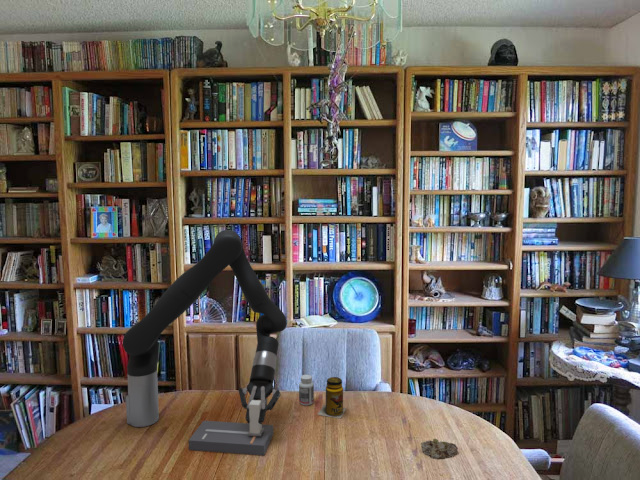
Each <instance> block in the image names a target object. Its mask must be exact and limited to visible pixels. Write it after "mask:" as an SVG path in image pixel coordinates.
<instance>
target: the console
mask: <svg viewBox="0 0 640 480" xmlns="http://www.w3.org/2000/svg"><path fill="white" fill-rule="evenodd" d="M262 428H264V430H263V432H262V434H261V436H248V432H249V430H250V425H249V423H247V422H245V423H244V422H232V421H231V422H229V421H218V420H217V421H215V420H203V421H202V422H201V424H200V425H199V426H198V427H197V428H196V430H195V431H194V433H193V434H192V436H191V437H190V438H189V439H188V450H189V451H197V452H198V451H199V452H213V453H226V454H240V455H242V454H243V455H255V456H265V454H266V452H267V450H268V447H269V446H270V443H271V440H272V438H273V436H274V424H265V423H264V424H263V423H262Z"/></svg>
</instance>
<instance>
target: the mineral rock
mask: <svg viewBox="0 0 640 480" xmlns="http://www.w3.org/2000/svg"><path fill="white" fill-rule="evenodd" d="M420 445H421V451H422V452H423V453H424V455H425V456H427V457H429V456H430V458H432V457H433V458H432V459H434V458H435V460H438V459H446V458H452V456H453V457H454V456H455V455H457V454H458V449H459V448H458V446H457V444H455V443H452V442H447V441H439V439H437V438H433V439H432V440H426V441H423V442H420Z"/></svg>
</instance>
